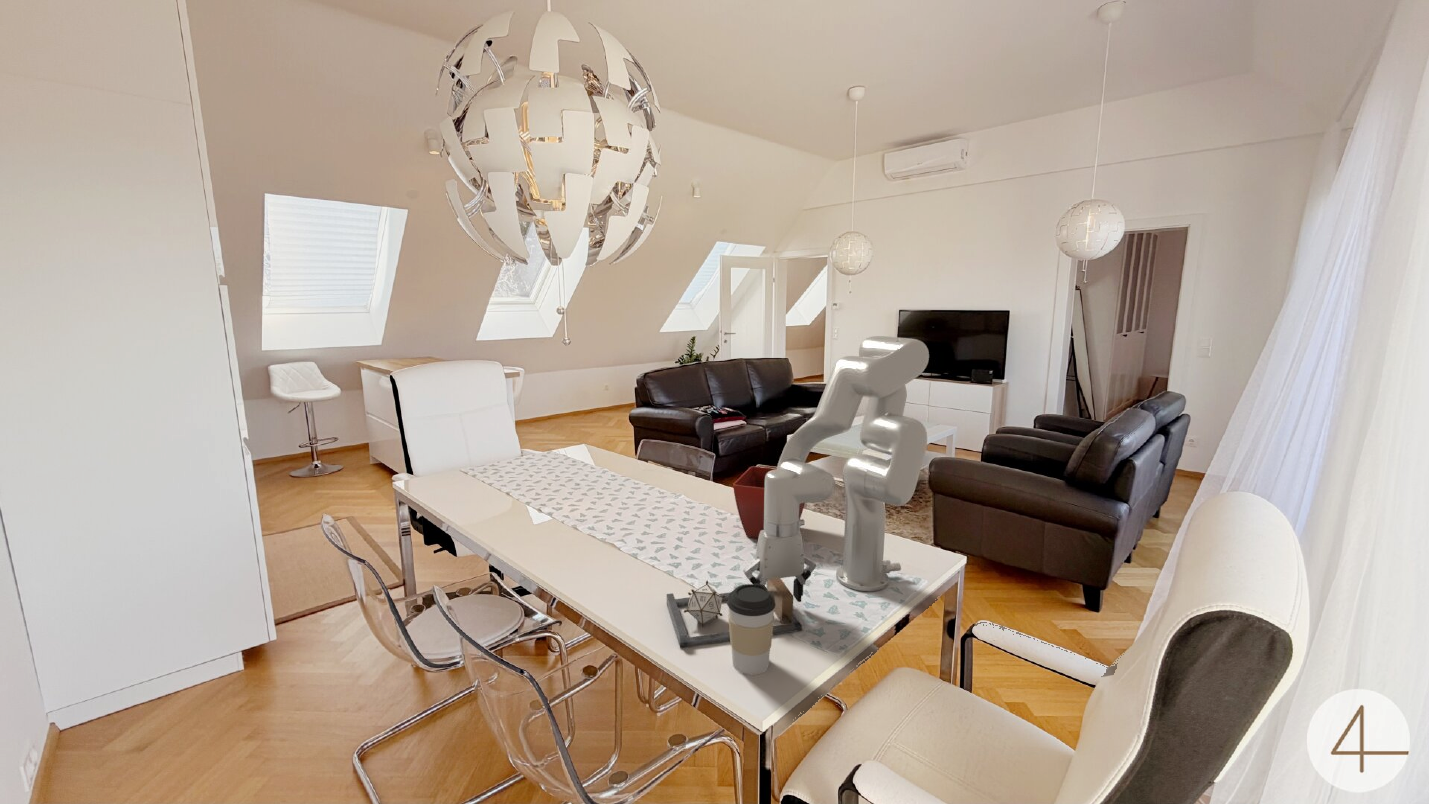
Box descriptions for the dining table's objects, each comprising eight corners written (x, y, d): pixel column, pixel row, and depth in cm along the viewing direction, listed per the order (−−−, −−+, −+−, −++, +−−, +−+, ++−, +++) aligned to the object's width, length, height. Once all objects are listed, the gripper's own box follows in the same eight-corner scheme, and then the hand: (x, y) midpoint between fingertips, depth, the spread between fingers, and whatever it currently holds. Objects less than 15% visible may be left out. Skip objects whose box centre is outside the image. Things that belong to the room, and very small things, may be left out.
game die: (702, 631, 128) (707, 584, 132) (731, 632, 122) (735, 583, 127) (673, 625, 122) (679, 576, 127) (701, 625, 117) (707, 574, 121)
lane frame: (774, 590, 138) (775, 567, 137) (802, 630, 121) (802, 604, 120) (666, 604, 132) (666, 579, 131) (680, 647, 115) (679, 620, 114)
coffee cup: (754, 685, 104) (755, 608, 102) (717, 664, 110) (717, 591, 108) (783, 662, 111) (785, 589, 108) (746, 643, 117) (747, 574, 114)
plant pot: (796, 550, 160) (798, 491, 157) (731, 540, 167) (731, 484, 164) (810, 524, 178) (811, 472, 175) (750, 516, 184) (751, 465, 181)
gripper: (811, 516, 131) (809, 588, 134) (737, 523, 127) (737, 597, 130) (825, 529, 124) (822, 605, 127) (747, 537, 120) (746, 615, 123)
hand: (779, 600), depth 129 cm, fingers open, 7 cm apart
